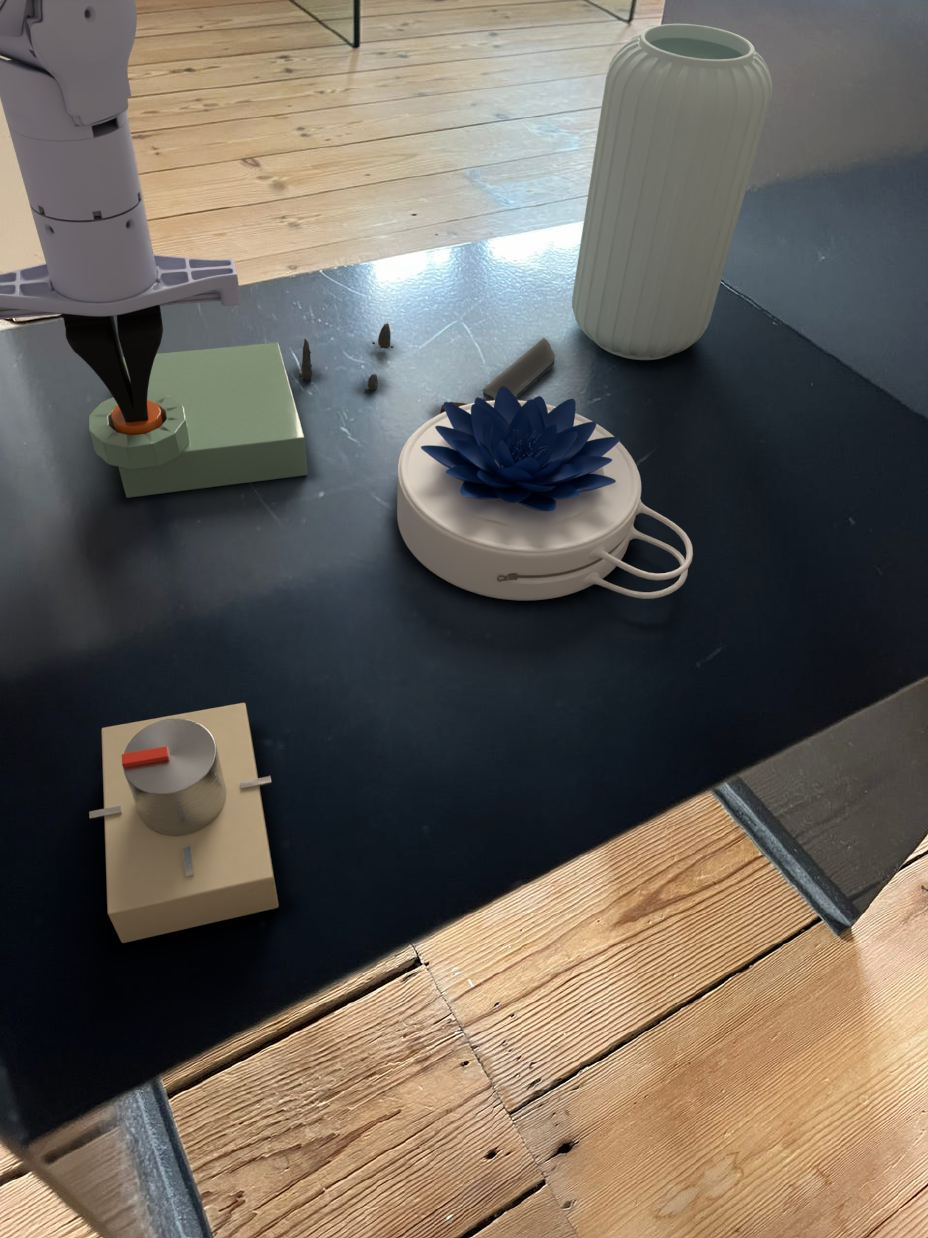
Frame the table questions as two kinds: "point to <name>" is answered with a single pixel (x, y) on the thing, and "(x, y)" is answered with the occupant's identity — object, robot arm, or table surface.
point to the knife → (520, 372)
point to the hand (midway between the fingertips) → (136, 412)
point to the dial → (175, 776)
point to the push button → (140, 426)
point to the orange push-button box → (209, 423)
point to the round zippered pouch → (523, 501)
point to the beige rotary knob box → (187, 841)
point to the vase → (667, 186)
